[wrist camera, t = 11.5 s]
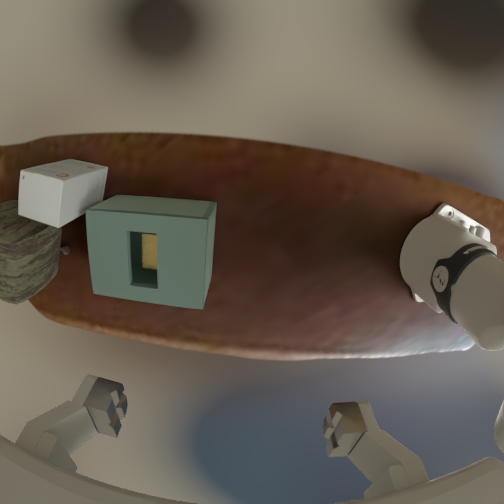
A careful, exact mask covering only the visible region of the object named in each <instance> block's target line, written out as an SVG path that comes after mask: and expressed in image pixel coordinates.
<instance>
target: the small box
mask: <svg viewBox="0 0 504 504" xmlns="http://www.w3.org/2000/svg"><path fill="white" fill-rule="evenodd" d="M107 172H108V167H106V166H102V165H98V164H93V163H88V162H84V161H79V160H74V159H68V160H62V161H58V162H54V163H49V164H44V165H40V166H35V167H31V168H27V169H23V170H21V173H20V182H19V200H18V215H20V216H23V217H26V218H29V219H32V220H35V221H38V222H41V223H44V224H47V225H50V226H53V227H56V228H60V227H62V226H63V225H65V224H67V223H69V222H70V221H72V220H74V219H76V218H77V217H79V216H81V215H83V214H85V213H86V210H87V209H89V208H91V207H93V206H95V205H97V204H99V203H101V202H103V196H104V189H105V183H106V178H107Z"/></svg>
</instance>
